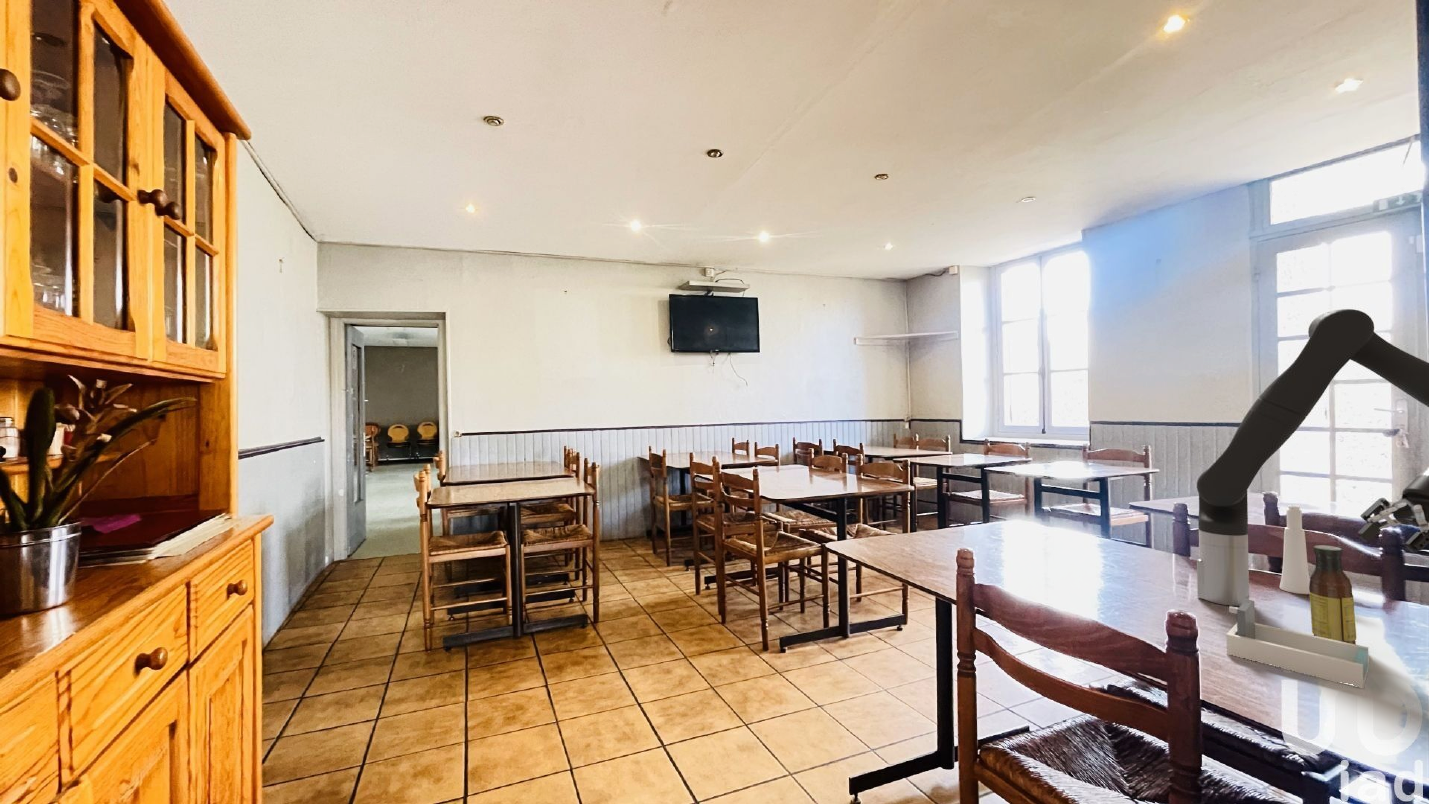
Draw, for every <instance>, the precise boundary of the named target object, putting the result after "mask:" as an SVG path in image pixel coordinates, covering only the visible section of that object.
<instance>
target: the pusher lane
mask: <svg viewBox="0 0 1429 804" xmlns="http://www.w3.org/2000/svg"><path fill="white" fill-rule="evenodd" d="M1225 638H1226V655H1228V656H1231V655H1233V657H1235V656H1237V657H1236V658H1239V657H1240V659H1243V658H1247V659H1250V660H1249V661H1251V660H1252V662H1255V661H1259V662H1262V663H1261V664H1263V663H1265V664H1264V665H1267V664H1272V665H1275V666H1276V668H1279V667H1281V668H1280V669H1282V668H1284V669H1283V670H1286V669H1287V670H1286V671H1290V670H1292V672H1294V671H1295V672H1294V673H1298V674H1302V673H1305V674H1304V675H1306V674H1308V675H1307V676H1310V675H1312V676H1311V677H1314V676H1316V677H1315V678H1318V677H1319V678H1318V679H1322V678H1323V679H1322V680H1326V681H1330V682H1334V683H1337V682H1342V683H1348V684H1353V685H1354V686H1357V687H1360V688H1359V689H1361V688H1362V690H1363V689H1364V685H1365V684H1366V680H1367V677H1366V676H1368V672H1369V670H1370V664H1369V663H1370V662H1369V661H1370V660H1369V659H1370V657H1369V655H1370V654H1369V652H1370V650H1369V647H1368V646H1365V645H1360V644H1356V645H1355V644H1350V643H1346V642H1341V641H1337V640H1332V639H1327V638H1323V637H1318V636H1314V634H1313V635H1312V634H1307V633H1303V632H1299V631H1294V630H1289V629H1284V628H1279V627H1276V626H1271V625H1266V624H1261V623H1257V622H1255V639H1251V638H1247V637H1243V636H1238V635H1237V622H1236V623H1235V624H1234V626H1232V628H1231V629H1230V630H1229V631H1228V632H1227V633H1226V637H1225ZM1247 659H1246V660H1247ZM1259 662H1258V663H1259ZM1275 666H1274V667H1275ZM1357 687H1356V688H1357Z"/></svg>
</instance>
